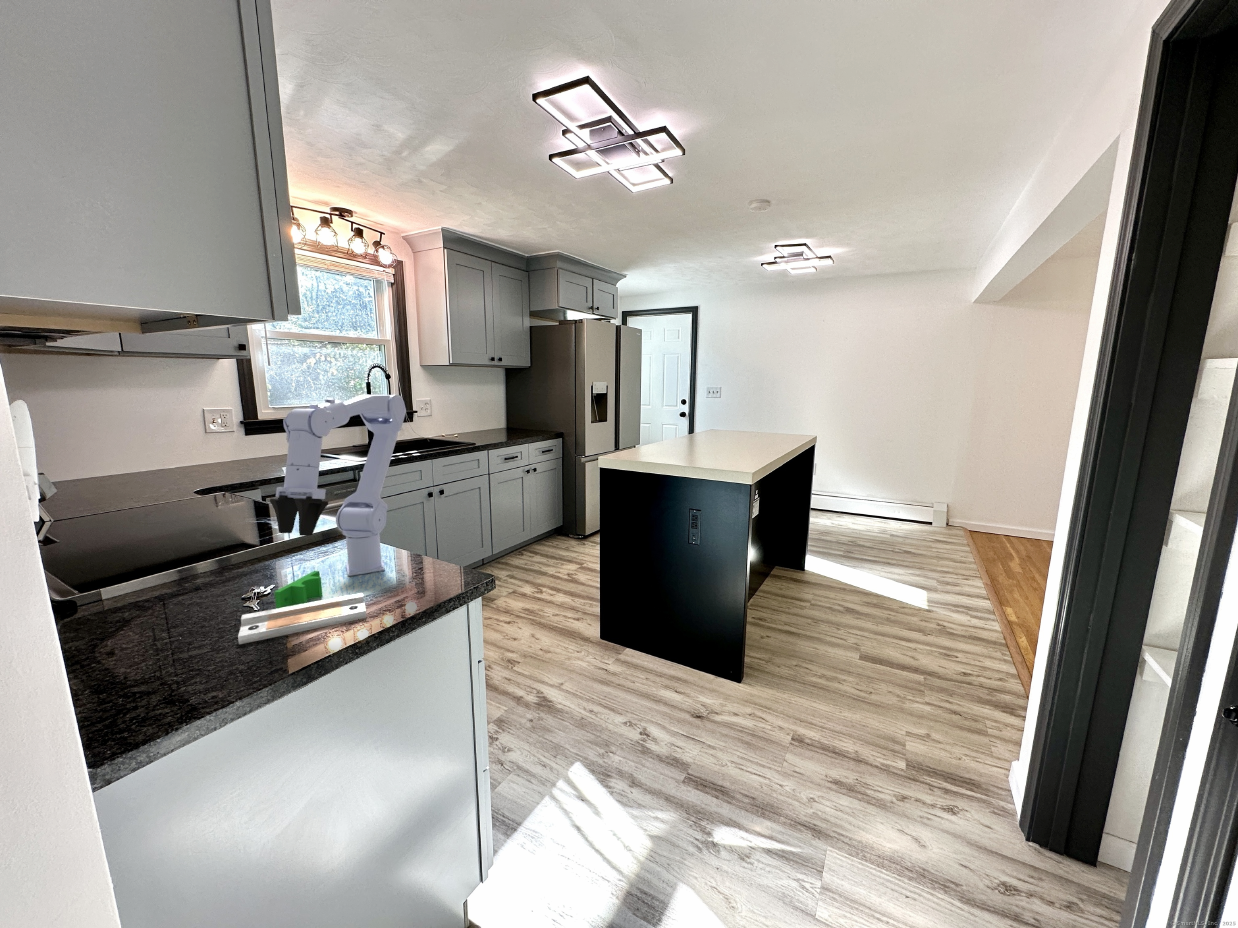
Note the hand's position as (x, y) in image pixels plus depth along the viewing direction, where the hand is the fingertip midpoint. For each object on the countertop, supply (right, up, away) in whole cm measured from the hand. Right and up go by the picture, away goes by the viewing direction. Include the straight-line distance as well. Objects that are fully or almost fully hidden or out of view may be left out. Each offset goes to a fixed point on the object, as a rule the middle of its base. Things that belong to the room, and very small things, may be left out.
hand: (295, 534), depth 101 cm
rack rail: (+5, -16, -5) cm, 18 cm away
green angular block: (-1, -15, +4) cm, 16 cm away
